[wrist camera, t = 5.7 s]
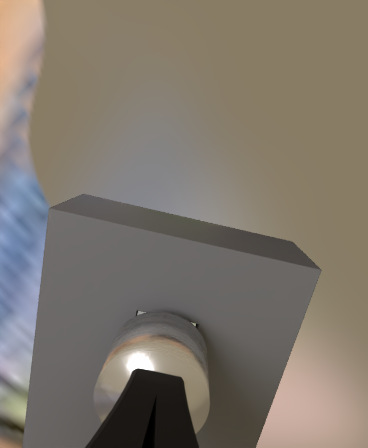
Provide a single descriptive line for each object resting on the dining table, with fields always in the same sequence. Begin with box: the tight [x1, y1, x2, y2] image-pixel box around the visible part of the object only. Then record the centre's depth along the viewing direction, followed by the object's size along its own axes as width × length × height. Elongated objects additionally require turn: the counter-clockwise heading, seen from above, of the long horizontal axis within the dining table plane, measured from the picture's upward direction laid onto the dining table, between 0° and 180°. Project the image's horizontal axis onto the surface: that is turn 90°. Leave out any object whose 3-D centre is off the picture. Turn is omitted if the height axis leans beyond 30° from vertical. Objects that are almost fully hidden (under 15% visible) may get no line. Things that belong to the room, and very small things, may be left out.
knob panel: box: [22, 194, 321, 448], centre depth 13 cm, size 18×9×3 cm, turn 167°
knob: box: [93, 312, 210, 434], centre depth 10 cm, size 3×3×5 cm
